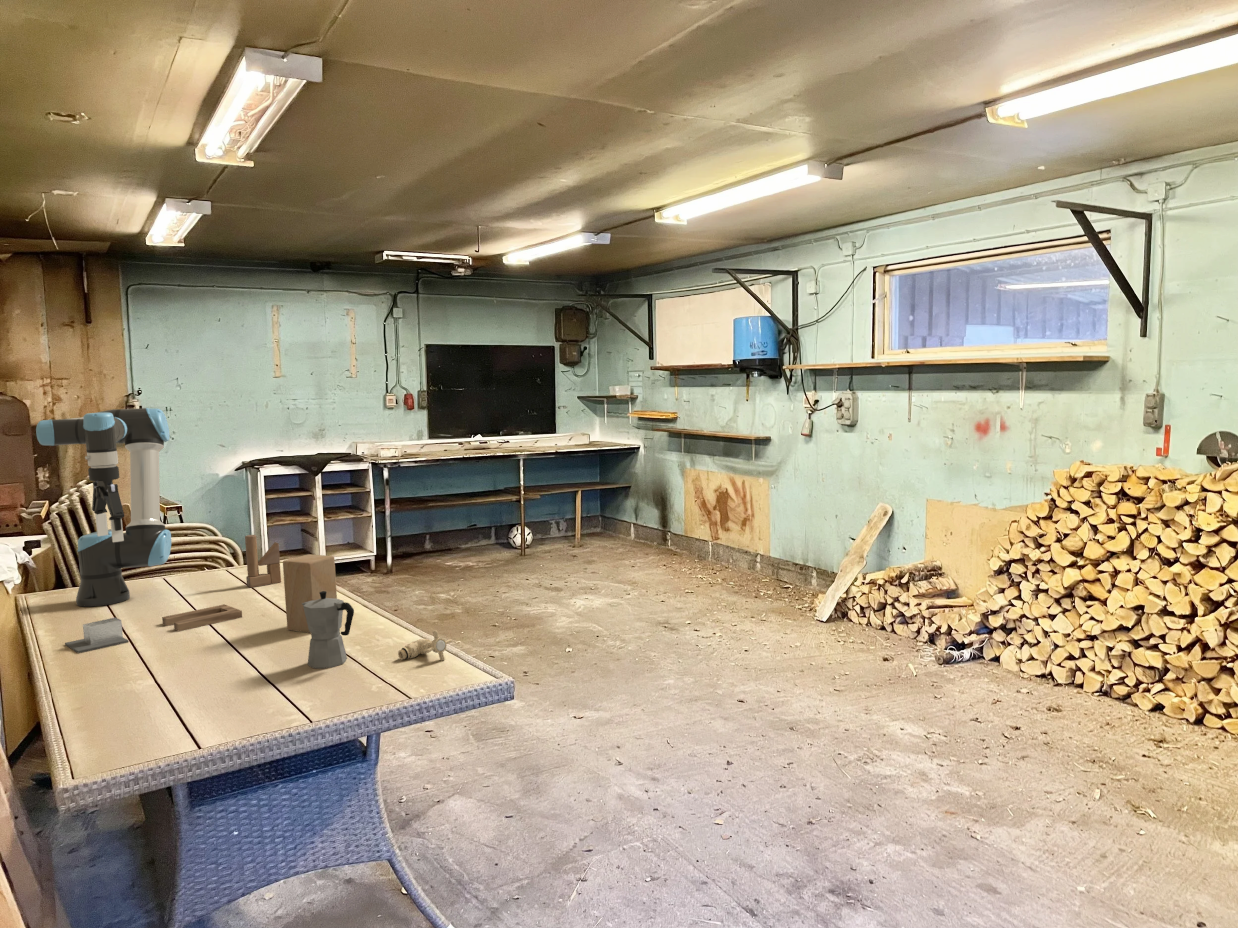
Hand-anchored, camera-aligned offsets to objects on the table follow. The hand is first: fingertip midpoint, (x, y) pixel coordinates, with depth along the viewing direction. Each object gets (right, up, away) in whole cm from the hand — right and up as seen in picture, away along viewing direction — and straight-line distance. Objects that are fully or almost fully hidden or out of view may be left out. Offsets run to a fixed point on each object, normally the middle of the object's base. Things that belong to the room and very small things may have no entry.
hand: (110, 538), depth 246 cm
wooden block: (+61, -25, -6) cm, 66 cm away
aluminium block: (+7, -27, -14) cm, 31 cm away
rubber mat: (+5, -27, -15) cm, 32 cm away
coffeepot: (+77, -28, -38) cm, 91 cm away
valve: (+100, -27, -36) cm, 109 cm away
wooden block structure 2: (+24, -21, +51) cm, 60 cm away
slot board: (+24, -25, +5) cm, 35 cm away
